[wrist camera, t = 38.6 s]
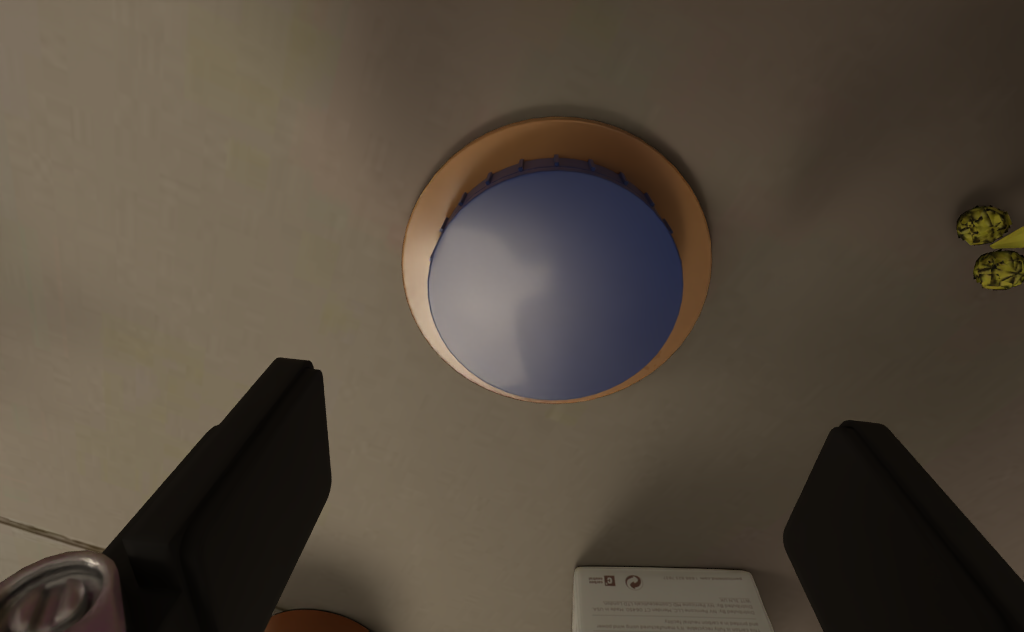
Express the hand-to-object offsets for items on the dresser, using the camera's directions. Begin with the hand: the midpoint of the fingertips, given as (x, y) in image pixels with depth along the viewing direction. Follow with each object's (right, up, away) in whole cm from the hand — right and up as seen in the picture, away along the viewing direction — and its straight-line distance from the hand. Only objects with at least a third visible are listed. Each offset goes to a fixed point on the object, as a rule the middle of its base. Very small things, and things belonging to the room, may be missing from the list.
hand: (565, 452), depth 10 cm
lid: (0, +3, +5) cm, 6 cm away
